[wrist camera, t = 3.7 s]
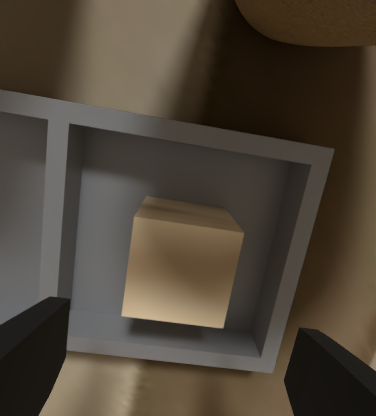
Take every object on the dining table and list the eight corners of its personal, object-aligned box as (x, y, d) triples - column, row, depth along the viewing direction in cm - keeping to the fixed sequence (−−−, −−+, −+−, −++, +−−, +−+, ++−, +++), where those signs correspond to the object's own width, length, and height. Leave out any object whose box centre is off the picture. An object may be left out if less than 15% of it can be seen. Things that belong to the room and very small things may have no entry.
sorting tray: (258, 340, 20) (272, 373, 17) (-152, 291, 18) (-215, 319, 15) (308, 148, 17) (334, 148, 14) (-177, 62, 15) (-262, 42, 12)
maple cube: (210, 280, 18) (223, 328, 14) (136, 269, 18) (121, 316, 13) (225, 208, 17) (244, 232, 12) (146, 195, 17) (134, 216, 12)
